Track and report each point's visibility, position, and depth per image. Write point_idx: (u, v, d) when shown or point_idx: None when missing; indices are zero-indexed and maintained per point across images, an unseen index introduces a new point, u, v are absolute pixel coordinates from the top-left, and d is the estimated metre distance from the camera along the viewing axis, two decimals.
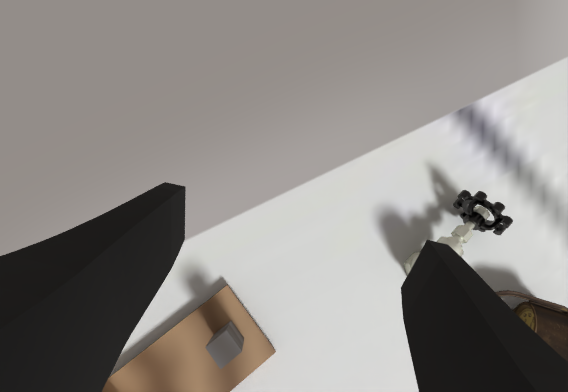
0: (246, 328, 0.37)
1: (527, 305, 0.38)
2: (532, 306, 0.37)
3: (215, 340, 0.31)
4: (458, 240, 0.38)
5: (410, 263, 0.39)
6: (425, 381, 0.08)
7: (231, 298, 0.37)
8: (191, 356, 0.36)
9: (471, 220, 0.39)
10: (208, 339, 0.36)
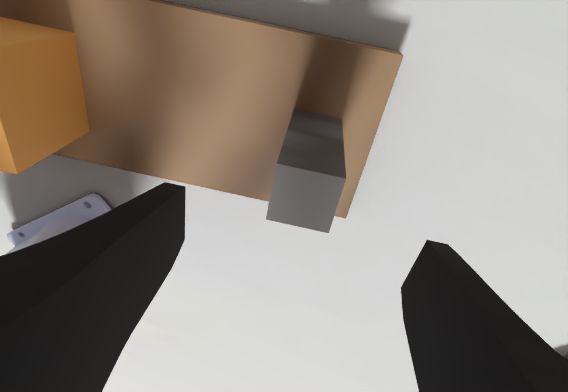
0: (347, 154, 0.17)
1: None
2: None
3: (307, 172, 0.11)
4: None
5: None
6: (425, 381, 0.08)
7: (382, 87, 0.15)
8: (231, 101, 0.16)
9: None
10: (279, 106, 0.16)
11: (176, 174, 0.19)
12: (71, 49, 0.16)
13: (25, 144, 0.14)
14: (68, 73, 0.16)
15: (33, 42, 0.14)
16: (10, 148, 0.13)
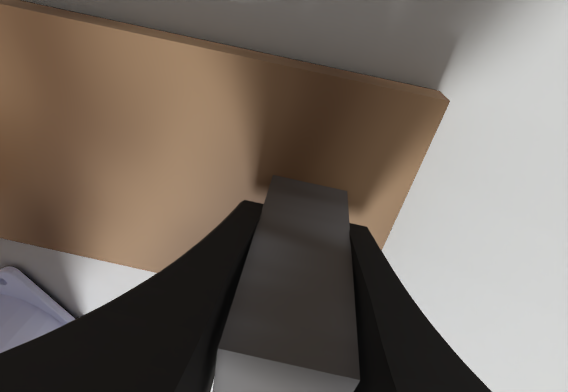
0: None
1: None
2: None
3: (280, 363, 0.06)
4: None
5: None
6: None
7: (412, 148, 0.09)
8: (177, 163, 0.11)
9: None
10: (251, 171, 0.11)
11: (110, 255, 0.13)
12: None
13: None
14: None
15: None
16: None
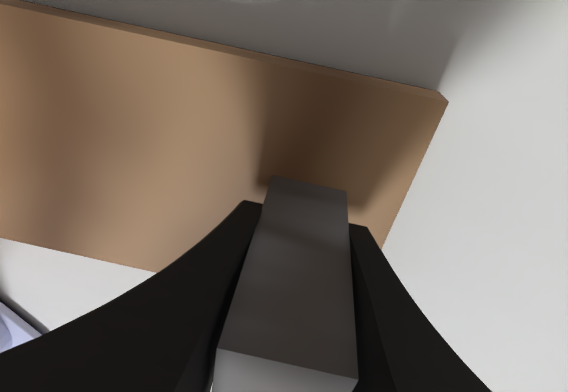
0: None
1: None
2: None
3: (279, 363, 0.06)
4: None
5: None
6: None
7: (411, 148, 0.10)
8: (177, 163, 0.11)
9: None
10: (250, 172, 0.11)
11: (110, 255, 0.13)
12: None
13: None
14: None
15: None
16: None
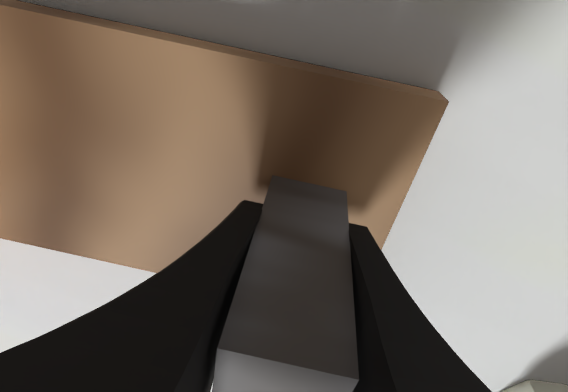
0: None
1: None
2: None
3: (279, 363, 0.06)
4: None
5: None
6: None
7: (411, 148, 0.10)
8: (177, 163, 0.11)
9: None
10: (250, 172, 0.11)
11: (110, 255, 0.13)
12: None
13: None
14: None
15: None
16: None
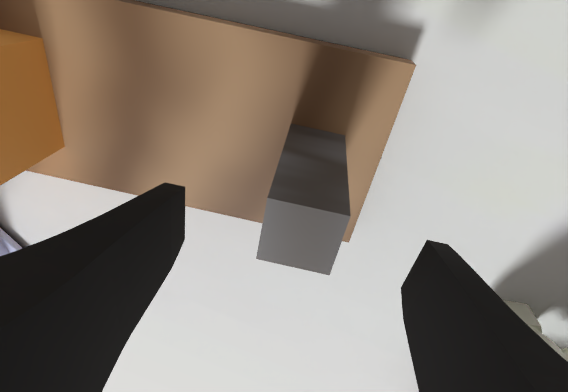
0: (351, 173, 0.15)
1: None
2: None
3: (303, 208, 0.09)
4: None
5: None
6: (425, 381, 0.08)
7: (391, 100, 0.13)
8: (220, 115, 0.15)
9: None
10: (274, 121, 0.14)
11: None
12: (39, 57, 0.14)
13: None
14: (35, 83, 0.14)
15: None
16: None
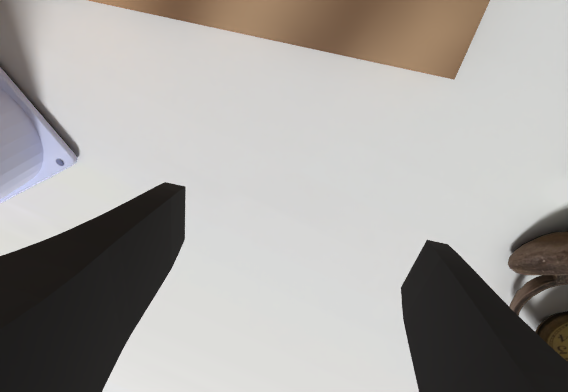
0: None
1: None
2: None
3: None
4: None
5: None
6: (425, 381, 0.08)
7: None
8: None
9: None
10: None
11: (232, 20, 0.14)
12: None
13: None
14: None
15: None
16: None
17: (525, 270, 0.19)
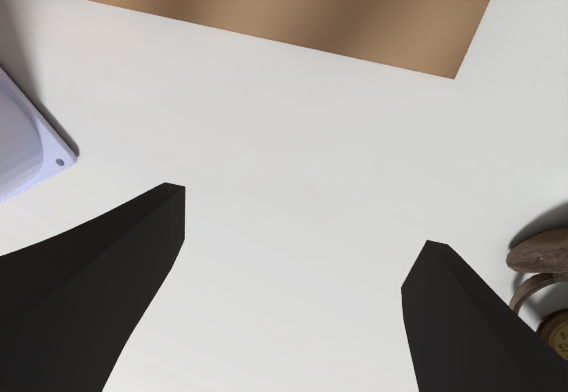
0: None
1: None
2: None
3: None
4: None
5: None
6: (425, 381, 0.08)
7: None
8: None
9: None
10: None
11: (232, 20, 0.14)
12: None
13: None
14: None
15: None
16: None
17: (523, 268, 0.19)
